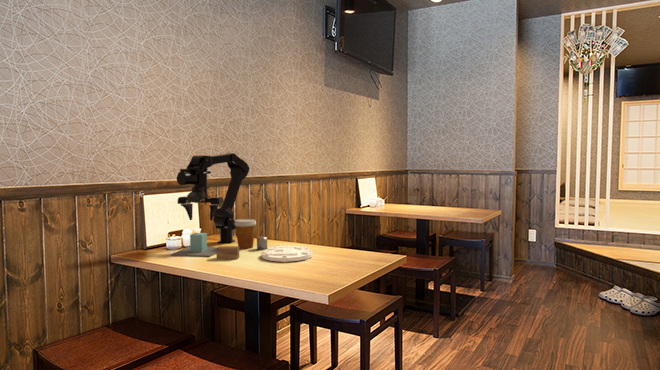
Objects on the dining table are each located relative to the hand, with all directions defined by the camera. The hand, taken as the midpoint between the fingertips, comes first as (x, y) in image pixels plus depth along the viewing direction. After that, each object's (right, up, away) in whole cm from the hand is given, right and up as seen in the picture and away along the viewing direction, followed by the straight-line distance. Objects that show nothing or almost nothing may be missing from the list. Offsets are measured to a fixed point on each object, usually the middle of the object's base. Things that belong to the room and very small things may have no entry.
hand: (200, 220), depth 186 cm
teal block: (+2, -12, -9) cm, 15 cm away
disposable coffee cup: (+19, -12, +1) cm, 23 cm away
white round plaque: (+39, -14, -17) cm, 45 cm away
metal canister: (+27, -12, -2) cm, 30 cm away
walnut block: (+17, -13, -20) cm, 29 cm away
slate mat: (+2, -13, -9) cm, 15 cm away
